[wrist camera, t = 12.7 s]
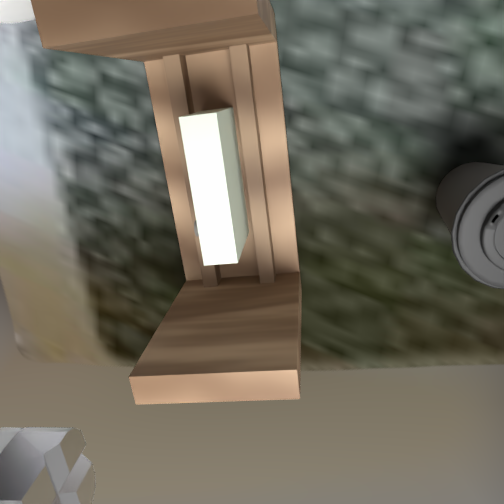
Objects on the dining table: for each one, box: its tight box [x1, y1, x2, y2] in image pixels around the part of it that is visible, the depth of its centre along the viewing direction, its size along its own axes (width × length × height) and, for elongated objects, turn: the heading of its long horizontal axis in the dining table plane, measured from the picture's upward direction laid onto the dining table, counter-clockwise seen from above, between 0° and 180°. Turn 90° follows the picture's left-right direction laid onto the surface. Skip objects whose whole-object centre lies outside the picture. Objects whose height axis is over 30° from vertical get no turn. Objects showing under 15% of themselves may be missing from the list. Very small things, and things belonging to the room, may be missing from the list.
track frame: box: [31, 0, 301, 404], centre depth 30 cm, size 22×10×15 cm, turn 7°
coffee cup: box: [436, 162, 504, 289], centre depth 31 cm, size 8×8×10 cm
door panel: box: [179, 107, 249, 266], centre depth 33 cm, size 10×3×7 cm, turn 7°
